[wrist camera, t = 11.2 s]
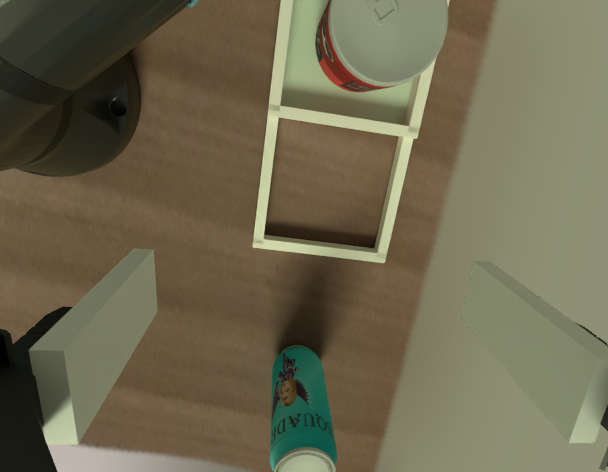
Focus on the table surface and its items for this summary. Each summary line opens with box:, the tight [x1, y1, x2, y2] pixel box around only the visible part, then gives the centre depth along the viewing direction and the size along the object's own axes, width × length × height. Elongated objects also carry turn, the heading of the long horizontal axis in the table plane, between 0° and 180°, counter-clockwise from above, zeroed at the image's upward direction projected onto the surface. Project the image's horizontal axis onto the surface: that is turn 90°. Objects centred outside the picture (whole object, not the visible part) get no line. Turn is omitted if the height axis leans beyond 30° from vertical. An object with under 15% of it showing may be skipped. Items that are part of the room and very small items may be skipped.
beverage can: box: [270, 345, 337, 472], centre depth 38 cm, size 6×6×15 cm
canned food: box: [315, 0, 448, 93], centre depth 29 cm, size 8×8×11 cm
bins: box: [253, 0, 449, 263], centre depth 36 cm, size 27×14×2 cm, turn 171°
